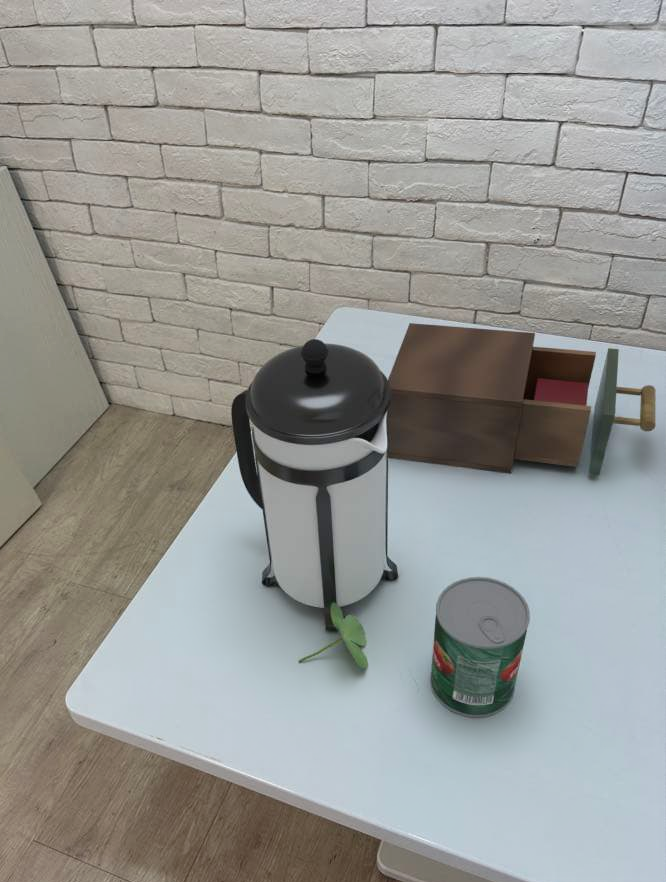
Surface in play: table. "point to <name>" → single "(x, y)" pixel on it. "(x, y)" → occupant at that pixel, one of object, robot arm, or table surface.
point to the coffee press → (319, 471)
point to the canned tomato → (478, 645)
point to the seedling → (347, 635)
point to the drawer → (574, 409)
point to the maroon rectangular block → (561, 391)
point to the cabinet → (458, 396)
